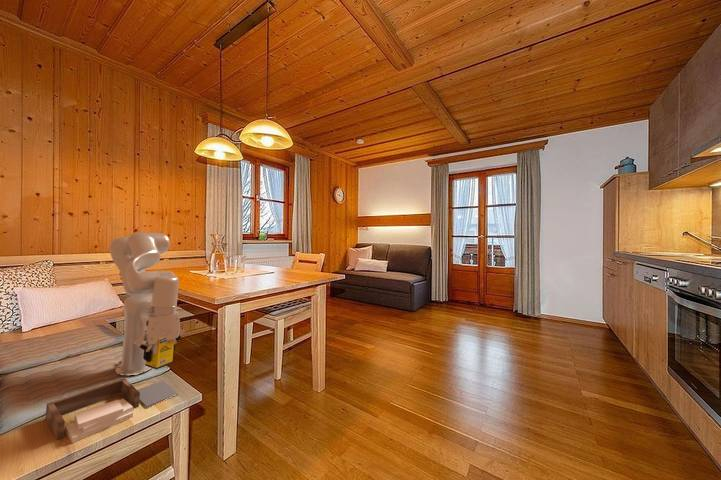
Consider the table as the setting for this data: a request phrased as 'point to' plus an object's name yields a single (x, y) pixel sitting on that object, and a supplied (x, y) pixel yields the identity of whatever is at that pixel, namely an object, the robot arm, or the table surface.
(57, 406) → the brown wooden tray
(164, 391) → the rubber mat
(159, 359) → the supplement box
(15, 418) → the table surface
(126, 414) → the offcut stack
